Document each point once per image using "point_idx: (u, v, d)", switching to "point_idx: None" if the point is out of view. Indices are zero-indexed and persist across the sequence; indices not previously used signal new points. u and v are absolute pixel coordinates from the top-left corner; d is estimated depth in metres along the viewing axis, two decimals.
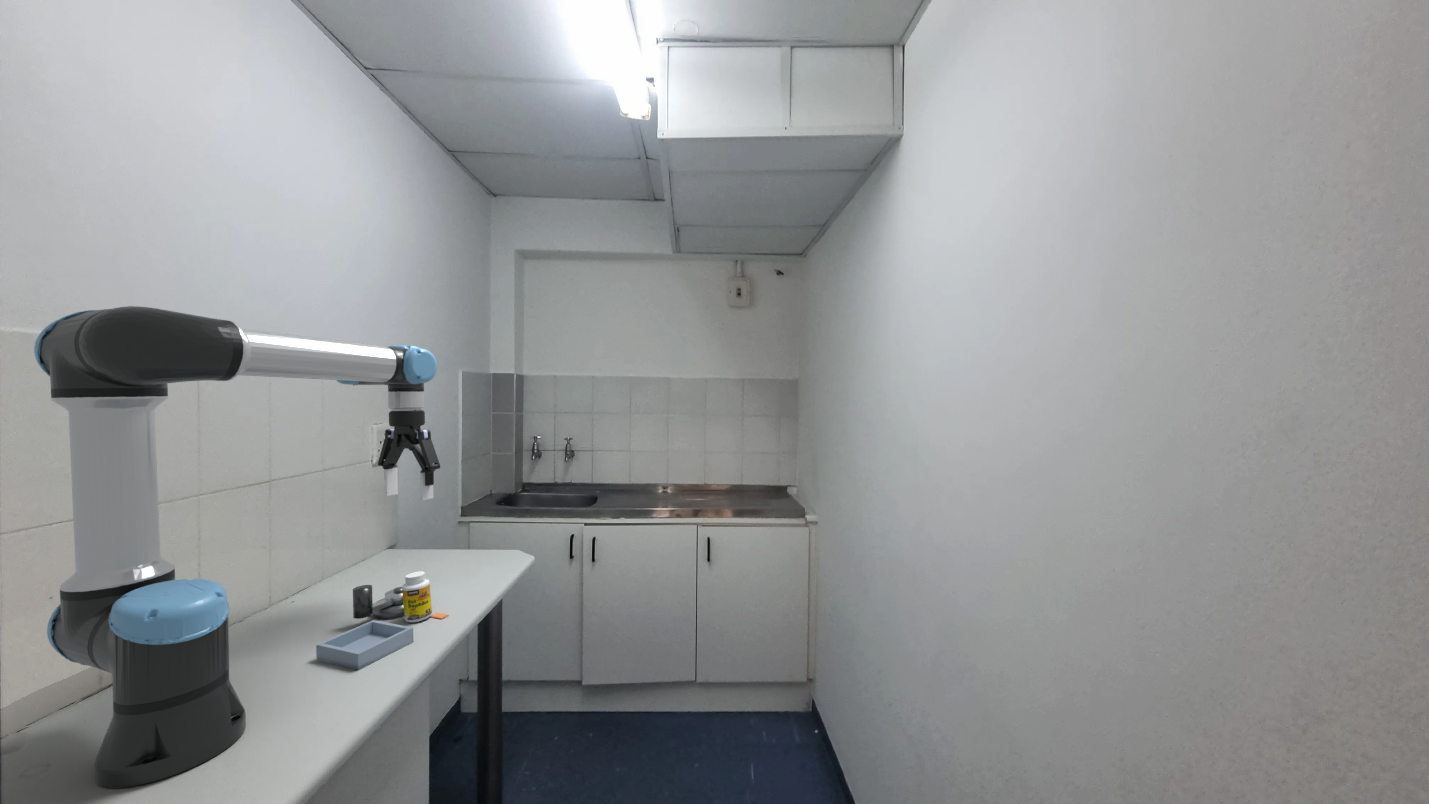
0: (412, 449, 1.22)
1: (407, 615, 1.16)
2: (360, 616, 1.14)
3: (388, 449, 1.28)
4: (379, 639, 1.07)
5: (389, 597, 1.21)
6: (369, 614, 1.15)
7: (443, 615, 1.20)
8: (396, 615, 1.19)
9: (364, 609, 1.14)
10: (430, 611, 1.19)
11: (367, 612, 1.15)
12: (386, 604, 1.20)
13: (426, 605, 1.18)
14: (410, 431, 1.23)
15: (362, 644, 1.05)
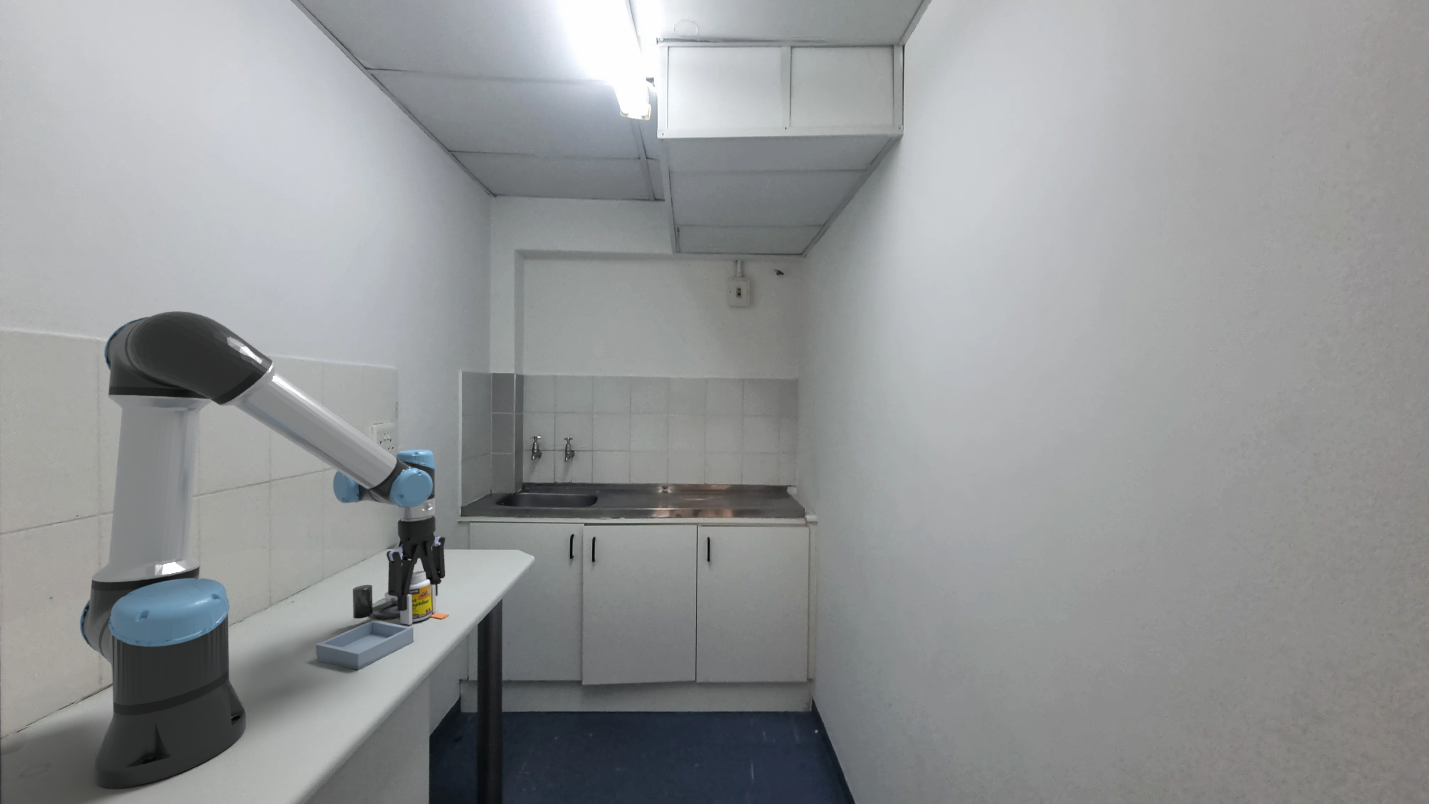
0: None
1: None
2: (360, 616, 1.14)
3: (435, 558, 1.23)
4: (379, 639, 1.07)
5: (389, 597, 1.21)
6: (369, 614, 1.15)
7: (443, 615, 1.20)
8: (396, 615, 1.19)
9: (364, 609, 1.14)
10: (430, 611, 1.19)
11: (367, 612, 1.15)
12: (386, 604, 1.20)
13: (426, 604, 1.18)
14: None
15: (362, 644, 1.05)
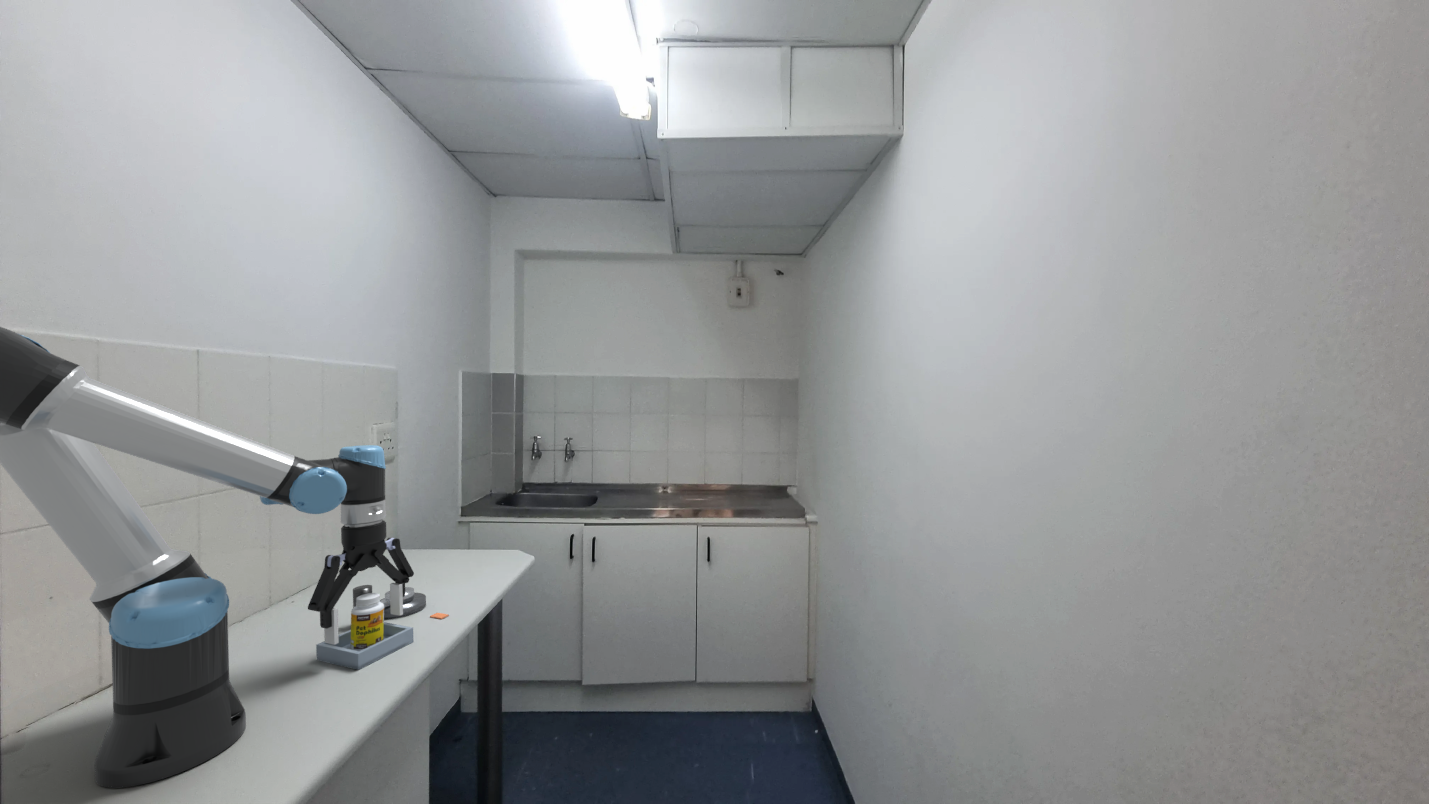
0: None
1: (353, 644, 1.01)
2: None
3: (395, 560, 1.10)
4: None
5: (389, 597, 1.21)
6: None
7: (443, 615, 1.20)
8: (396, 615, 1.19)
9: None
10: (381, 640, 1.04)
11: None
12: (386, 604, 1.20)
13: (377, 632, 1.03)
14: None
15: None
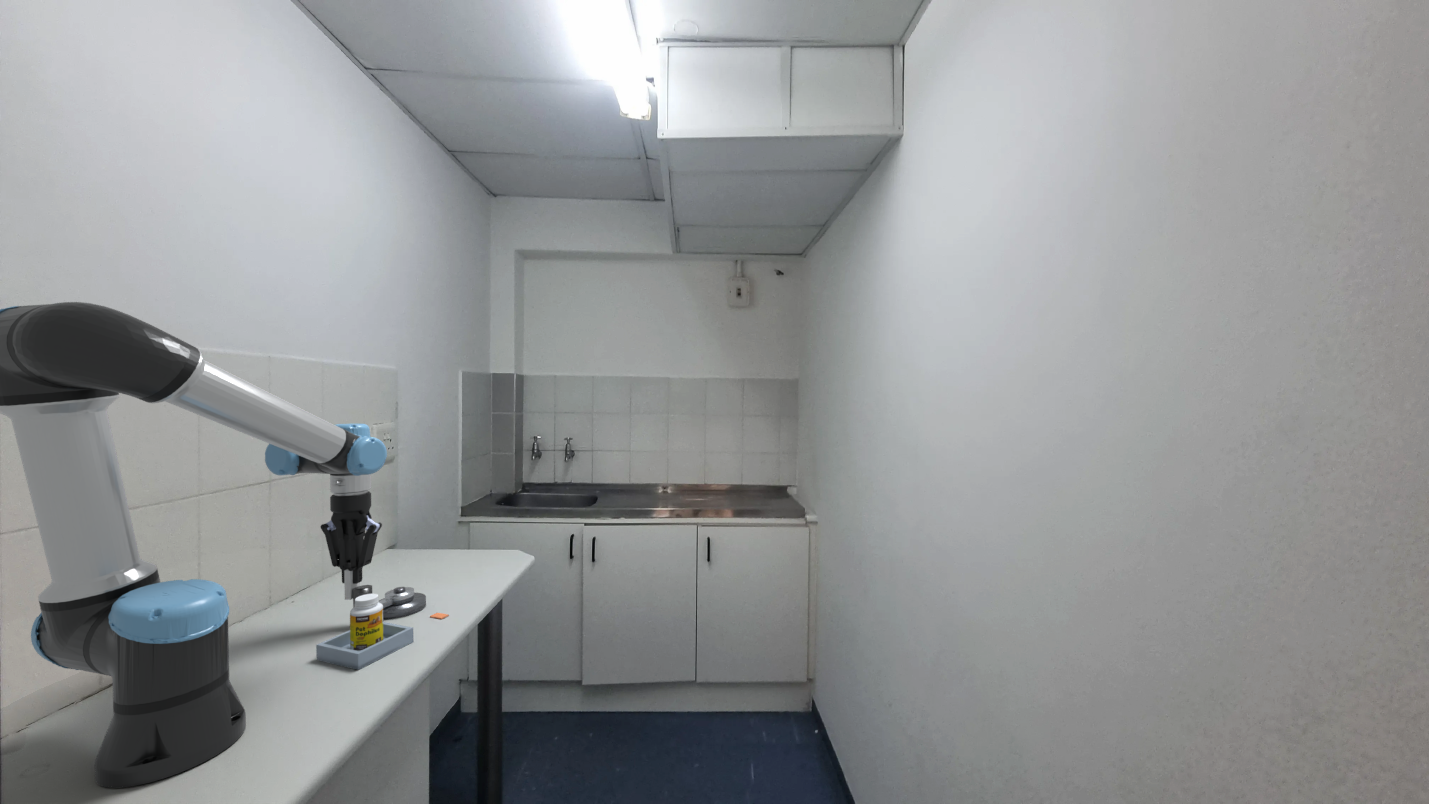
0: None
1: (353, 645, 1.01)
2: None
3: None
4: None
5: (389, 597, 1.21)
6: None
7: (443, 615, 1.20)
8: (396, 615, 1.19)
9: None
10: (381, 640, 1.04)
11: None
12: (386, 604, 1.20)
13: (376, 633, 1.03)
14: None
15: None
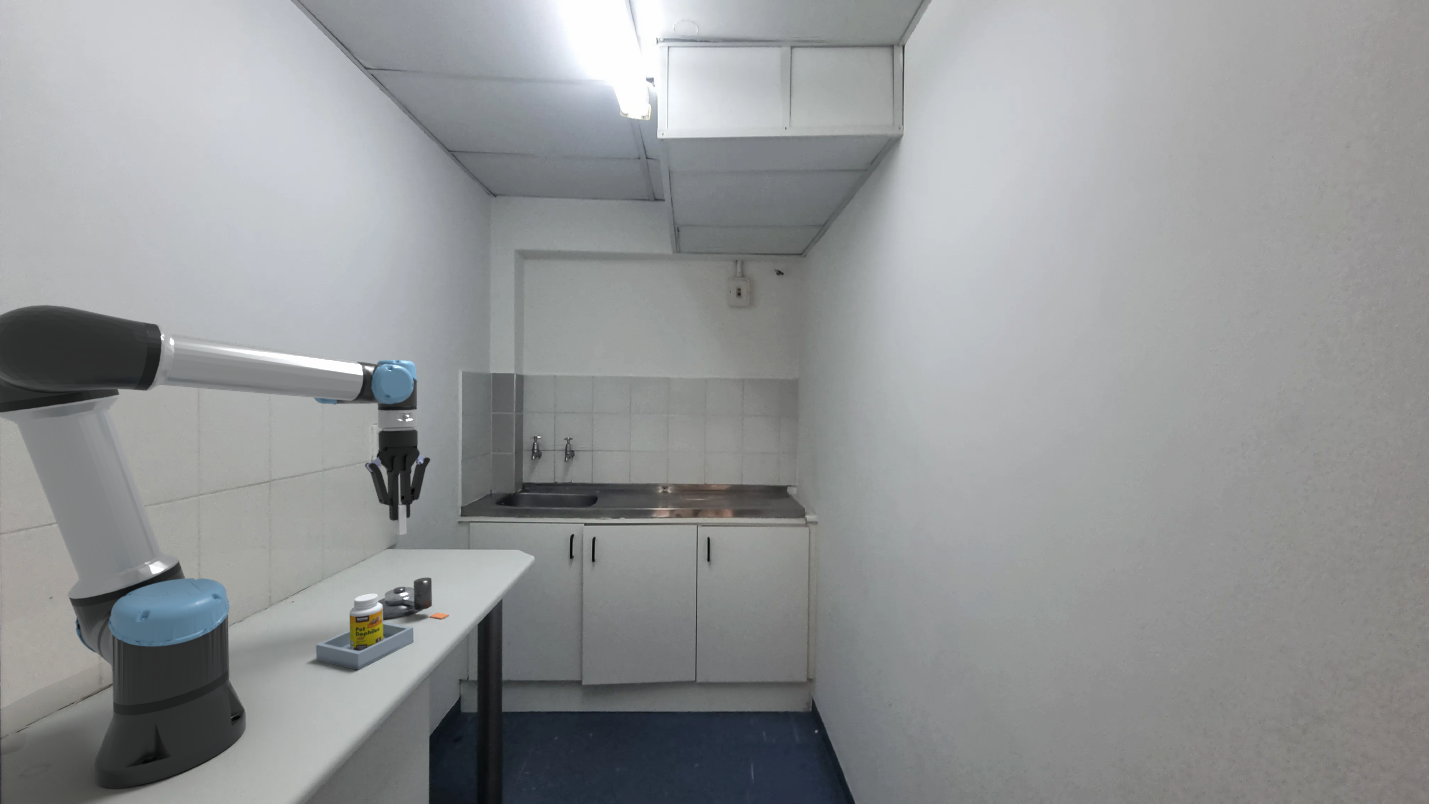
0: None
1: (353, 645, 1.01)
2: (431, 604, 1.20)
3: (414, 477, 1.19)
4: None
5: (408, 594, 1.23)
6: None
7: (443, 615, 1.20)
8: (396, 615, 1.19)
9: (431, 597, 1.21)
10: (381, 640, 1.04)
11: None
12: None
13: (376, 633, 1.03)
14: None
15: None
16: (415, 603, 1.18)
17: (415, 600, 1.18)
